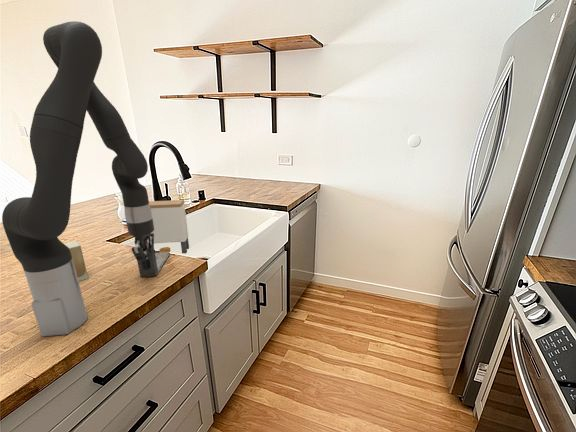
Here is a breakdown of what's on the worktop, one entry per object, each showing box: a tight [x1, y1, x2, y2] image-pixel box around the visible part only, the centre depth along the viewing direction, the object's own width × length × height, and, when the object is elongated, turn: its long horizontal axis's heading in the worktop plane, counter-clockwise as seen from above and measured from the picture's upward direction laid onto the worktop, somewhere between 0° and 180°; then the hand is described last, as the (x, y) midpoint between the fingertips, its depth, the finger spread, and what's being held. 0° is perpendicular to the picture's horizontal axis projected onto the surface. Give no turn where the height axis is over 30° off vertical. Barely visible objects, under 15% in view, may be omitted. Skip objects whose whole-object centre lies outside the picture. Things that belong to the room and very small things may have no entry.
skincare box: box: [62, 239, 89, 283], centre depth 96 cm, size 6×4×12 cm
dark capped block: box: [136, 244, 170, 278], centre depth 104 cm, size 16×5×10 cm, turn 6°
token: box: [158, 246, 171, 253], centre depth 117 cm, size 4×4×1 cm
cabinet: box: [149, 199, 190, 254], centre depth 114 cm, size 6×18×20 cm, turn 97°
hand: (148, 267), depth 98 cm, fingers closed on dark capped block, 2 cm apart
